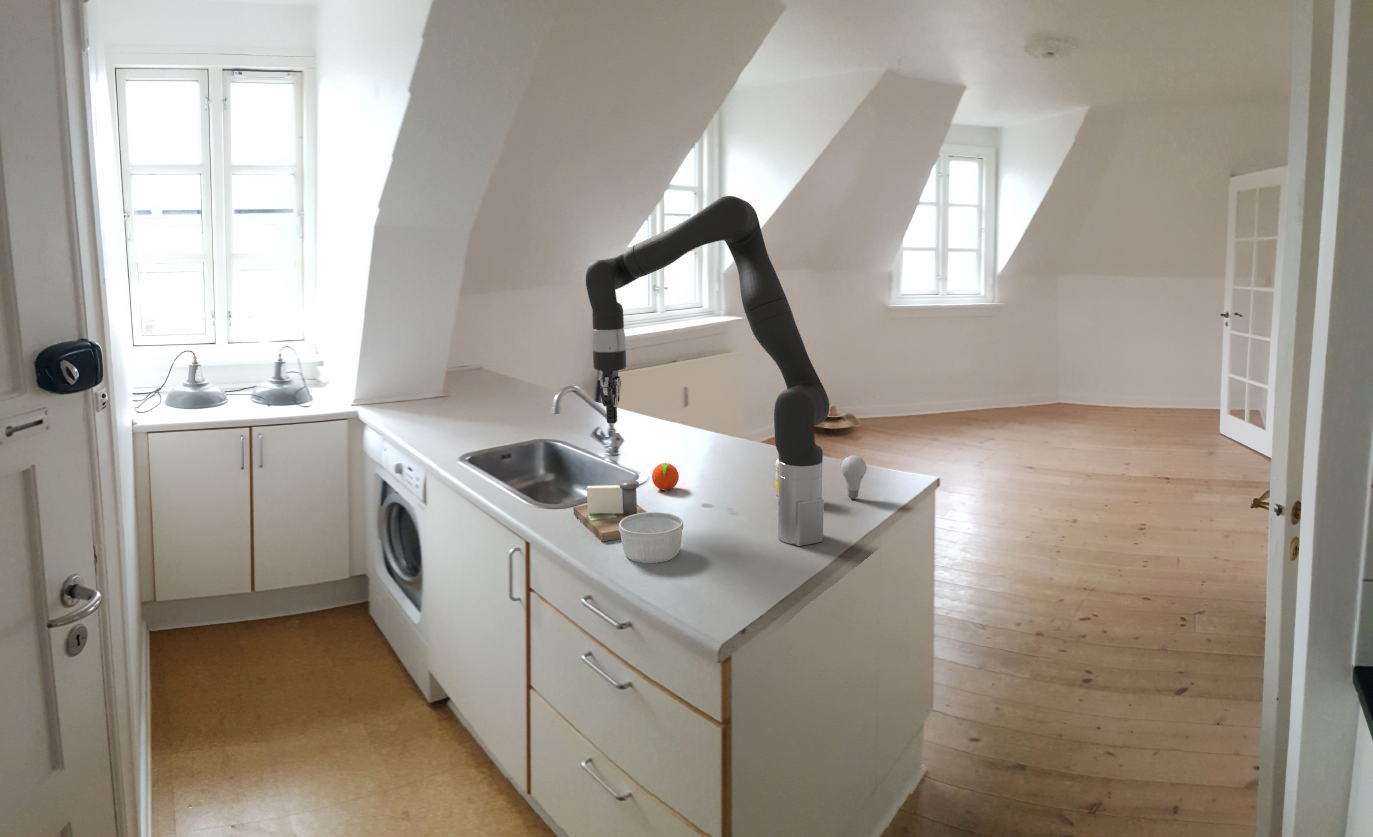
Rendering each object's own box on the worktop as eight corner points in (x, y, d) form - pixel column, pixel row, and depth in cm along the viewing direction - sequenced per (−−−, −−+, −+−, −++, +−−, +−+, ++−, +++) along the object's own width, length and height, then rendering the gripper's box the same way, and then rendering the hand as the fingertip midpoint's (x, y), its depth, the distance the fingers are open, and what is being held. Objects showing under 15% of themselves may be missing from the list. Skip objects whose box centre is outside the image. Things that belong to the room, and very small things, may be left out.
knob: (640, 509, 199) (639, 480, 198) (639, 515, 195) (638, 485, 193) (589, 510, 199) (588, 480, 198) (587, 516, 195) (586, 486, 193)
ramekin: (632, 570, 170) (631, 537, 169) (610, 548, 182) (609, 517, 180) (693, 559, 175) (693, 527, 174) (669, 538, 187) (668, 508, 186)
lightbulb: (855, 504, 208) (856, 460, 205) (835, 498, 212) (836, 455, 210) (870, 499, 212) (872, 455, 209) (850, 493, 216) (851, 451, 214)
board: (661, 531, 191) (661, 522, 191) (601, 542, 186) (601, 532, 185) (629, 506, 209) (629, 497, 208) (573, 514, 203) (573, 506, 203)
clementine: (678, 494, 217) (678, 467, 216) (651, 495, 218) (650, 467, 216) (679, 485, 225) (679, 459, 224) (652, 485, 225) (652, 459, 224)
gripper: (619, 352, 190) (622, 429, 193) (630, 344, 203) (633, 416, 206) (586, 352, 191) (589, 429, 194) (599, 344, 204) (602, 416, 207)
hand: (612, 422), depth 200 cm, fingers closed
